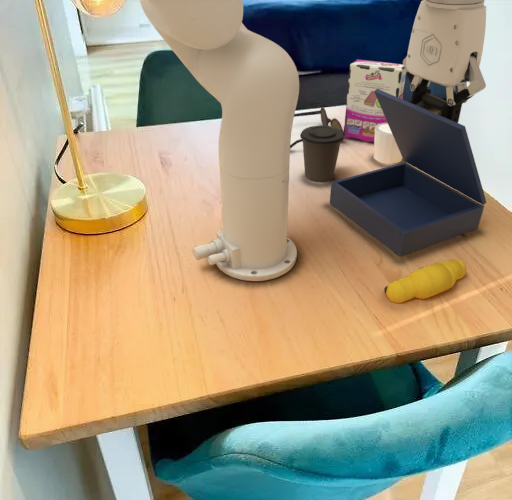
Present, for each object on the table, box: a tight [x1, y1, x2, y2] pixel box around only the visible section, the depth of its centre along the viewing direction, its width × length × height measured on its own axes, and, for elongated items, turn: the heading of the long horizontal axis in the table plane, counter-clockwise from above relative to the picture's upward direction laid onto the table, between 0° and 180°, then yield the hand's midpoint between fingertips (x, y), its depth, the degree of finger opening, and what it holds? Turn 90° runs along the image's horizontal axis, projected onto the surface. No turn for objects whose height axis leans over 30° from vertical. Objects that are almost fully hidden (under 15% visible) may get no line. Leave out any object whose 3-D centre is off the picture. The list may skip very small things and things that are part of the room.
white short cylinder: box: [373, 123, 403, 165], centre depth 103 cm, size 7×7×7 cm
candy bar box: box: [343, 59, 407, 144], centre depth 110 cm, size 11×5×16 cm, turn 62°
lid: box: [374, 89, 487, 206], centre depth 80 cm, size 17×18×5 cm
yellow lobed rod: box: [384, 258, 467, 304], centre depth 69 cm, size 14×4×4 cm, turn 118°
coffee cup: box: [299, 125, 345, 183], centre depth 96 cm, size 8×8×10 cm
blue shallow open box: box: [329, 161, 485, 258], centre depth 85 cm, size 16×18×5 cm
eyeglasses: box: [290, 106, 346, 150], centre depth 114 cm, size 15×15×5 cm
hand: (432, 121), depth 78 cm, fingers closed on lid, 5 cm apart
